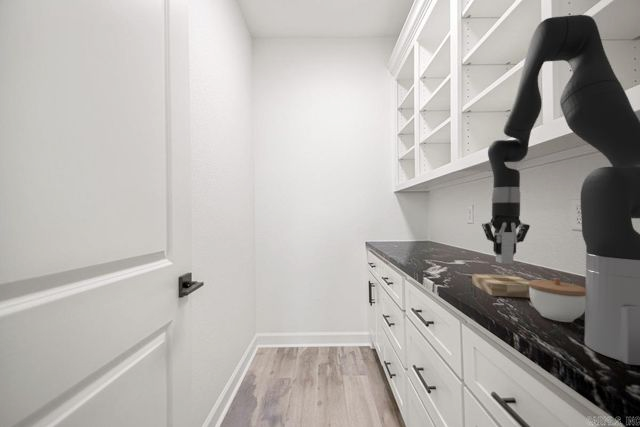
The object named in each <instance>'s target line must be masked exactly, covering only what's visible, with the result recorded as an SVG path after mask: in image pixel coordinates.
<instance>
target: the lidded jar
mask: <svg viewBox="0 0 640 427" xmlns="http://www.w3.org/2000/svg"><path fill="white" fill-rule="evenodd" d="M528 281H529V294H530V297H529V299H530V303H531V304H532V306H533V308H535V310H536V311H537V312H539V315H540V316H541V317H543V318H545V319H549V320H551V321H556V322H560V323H561V322H563V323H572V322H574V321H575V320H576V319H578V318H580V317H581V316H582V315H584V314H585V286H582V285H578V284H575V283H569V282H564V281H561V279H560V278H558V277H554V278H553V280H551V279H550V280H548V279H532V280H528Z"/></svg>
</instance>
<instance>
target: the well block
mask: <svg viewBox="0 0 640 427" xmlns="http://www.w3.org/2000/svg"><path fill="white" fill-rule="evenodd" d="M529 281H530V280H527V279H524V278H523V277H519V276H518V275H508V274H507V275H506V274H504V275H503V274H487V273H472V274H471V284H472V285H474V286H475V287H477V288H478V289H480V290H482V291H484V292H485V293H487V294H488V295H490V296H494V297H497V296H498V297H512V298H513V297H515V298H530V294H529Z"/></svg>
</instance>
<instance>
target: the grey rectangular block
mask: <svg viewBox="0 0 640 427" xmlns="http://www.w3.org/2000/svg"><path fill="white" fill-rule="evenodd" d="M497 233H499V232H497ZM501 233H502V236H501V242H500V243H501V254H500V255H497V254H495V262H496V263H498V264H499V263H500V264H509V265H510V264H512V265H514V255H513V250H514V232H501Z"/></svg>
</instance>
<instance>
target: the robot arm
mask: <svg viewBox="0 0 640 427" xmlns="http://www.w3.org/2000/svg"><path fill="white" fill-rule="evenodd" d="M560 61H565V62H567V63H568V64H569V66H570V68H571V71H572V75H571V77H570V78H569V79H568V81H567V83H566V85H565V87H564V89H563V91H562V93H561V95H560V99H559V100H560V101H559V102H560V103H559V105H560V109H561V111H562V114H563V117H564V119H565V121H566V124H567V126H568V127H569V129H570V130H571V131H572V133H573V134H575V135H576V136H577V137H579V138H580V139H582V140H583V141H584V142H586V143H588V145H590V146H591V147H593V148H594V149H596V150H597V151H598V152H599V153H601V154H602V155H603V156H604V157H605V158H606V159H607V160H608V161H609V163H610V164H611V166H603V167H598V168H597V169H593V170H592V171H590V173H588V175H587V176H586V177H585V178H584V180H583V181H582V182H583V183H582V186H581V190H580V216H581V235H582V238H583V241H584V243H585V246H586V248H585V249H586V250H585V251H586V252H585V286H584V288H585V311H584V345H586V347H588V348H589V349H590V350H592V351H594V352H596V353H598V354H601V355H603V356H606V357H608V358H611V359H615V360H618V361H620V362H622V363H624V364H626V365H633V366H640V232H638V231H637V230H635V228H634V225H633V221H632V219H640V119H639V118H638V116H637V114H636V112H635V111H634V109H633V107H632V104H631V102H630V99H629V97H628V96H627V94H626V91H625V90H624V88H623V86H622V83H621V82H620V81H619V79H618V77H617V76H616V74H615V71H614V69H613V68H612V67H613V66H612V65H611V63H610V61H609V59H608V57H607V54H606V51H605V48H604V46H603V42H602V38H601V35H600V30H599V28H598V24H597V23H596V21H595V19H594V18H593V17H592V16H591V15H587V14H575V15H573V14H572V15H564V16H553V17H548V18H546V19H544V20H542V21H541V22H540V23H539V24H538V25H537V27H536V29H535V30H534V32H533V34H532V35H531V39H530V41H529V44H528V47H527V50H526V55H525V58H524V62H523V66H522V70H521V74H520V79H519V82H518V87H517V92H516V95H515V98H514V102H513V104H512V107H511V110H510V112H509V114H508V117H507V119H506V123H505V124H504V127H503V133H504V135H506V136H507V137H509V138H513V139H504V140H502V139H501V140H500V139H499V140H494V141H493V142H492V143H491V144H490V145H489V147H488V150H487V156H488V160H489V163H490V167H491V171H492V174H493V190H492V197H491V198H492V199H491V206H492V207H491V216H492V217H491V219H490V221H489V222H485V223H484V222H483V223H481V226H482V229H483V233H484V234H485V237H486V239H487V240H488V241H491V242H492V244H493V245H492V246H493V247H492V248H493V249H492V250H493V252H494V255H496V254H497V255H500V254H501V243H500V242H501V236H502V233H501V232H514V250H513V256H515V254H516V253H517V244H518V243H523V242H524V241H525V239H526V236H527V233H528V232H529V230H530V228H531V225H530V224H527V223H523V222H521V219H520V215H521V191H520V190H521V189H520V186H521V185H520V183H521V173H520V171H519V170H518V169H517V168H516V169H514V168H510V167H508V166H507V165H506V164H505V163H518V162H521V161H522V160H524V159H525V157H526V156H528V151H529V143H530V137H531V133H532V130H533V127H534V126H535V124H536V121H537V119H538V117H539V116H540V114H541V110H542V104H543V103H542V97H541V96H542V95H541V92H540V87H539V75H540V72H541V69H542V67H543V65H544V63H546V62H560ZM492 228H493V229H494V231H492ZM517 229H519V230H518V231H517ZM497 232H499V233H497Z"/></svg>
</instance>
